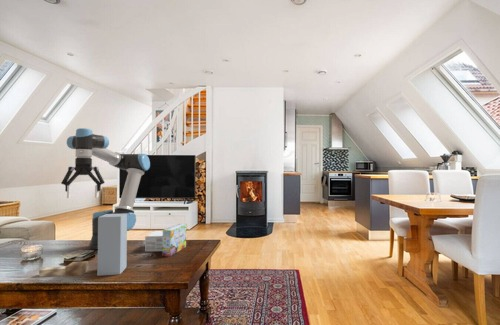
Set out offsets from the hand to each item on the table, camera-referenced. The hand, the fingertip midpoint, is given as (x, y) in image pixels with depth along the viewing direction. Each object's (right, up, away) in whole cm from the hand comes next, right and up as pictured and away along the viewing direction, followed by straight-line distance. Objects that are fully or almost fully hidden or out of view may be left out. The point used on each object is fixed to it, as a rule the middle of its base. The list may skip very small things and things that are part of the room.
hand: (83, 197), depth 143 cm
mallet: (0, -34, -16) cm, 38 cm away
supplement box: (+31, -36, +29) cm, 56 cm away
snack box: (+43, -36, +20) cm, 59 cm away
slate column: (+22, -34, -12) cm, 42 cm away
